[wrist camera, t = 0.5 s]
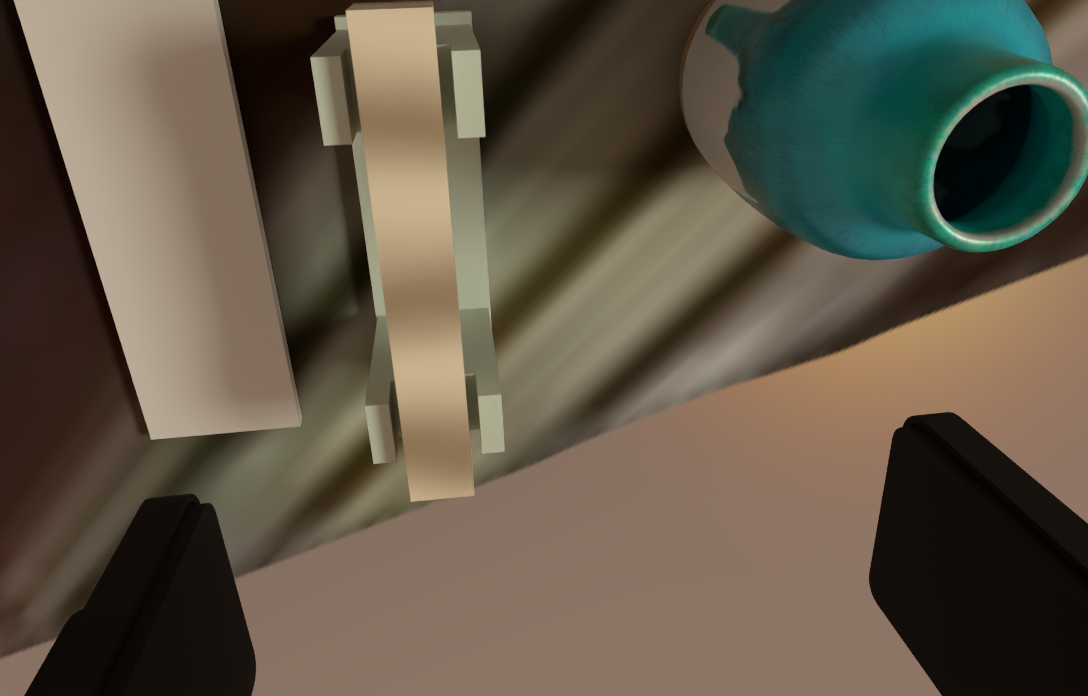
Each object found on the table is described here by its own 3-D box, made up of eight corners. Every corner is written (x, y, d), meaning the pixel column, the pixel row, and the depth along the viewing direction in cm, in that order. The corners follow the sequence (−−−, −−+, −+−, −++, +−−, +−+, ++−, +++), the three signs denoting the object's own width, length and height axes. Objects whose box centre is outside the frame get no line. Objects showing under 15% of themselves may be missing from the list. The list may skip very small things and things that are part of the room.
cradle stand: (336, 15, 35) (304, 41, 27) (470, 9, 36) (482, 34, 27) (384, 365, 44) (372, 473, 35) (492, 356, 44) (507, 460, 36)
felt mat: (7, -51, 33) (-2, -51, 32) (206, -57, 34) (201, -57, 33) (155, 431, 44) (151, 439, 43) (302, 418, 45) (300, 426, 44)
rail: (353, 3, 28) (345, 10, 25) (433, 0, 28) (432, 7, 26) (412, 461, 37) (410, 501, 35) (471, 456, 38) (474, 495, 35)
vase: (734, 212, 42) (933, 396, 25) (610, 58, 38) (752, 158, 21) (901, 70, 40) (1244, 171, 23) (789, -112, 35) (1113, -153, 19)
